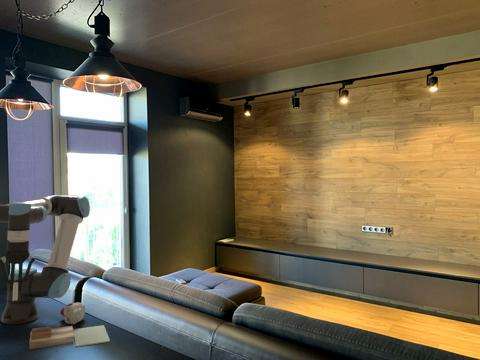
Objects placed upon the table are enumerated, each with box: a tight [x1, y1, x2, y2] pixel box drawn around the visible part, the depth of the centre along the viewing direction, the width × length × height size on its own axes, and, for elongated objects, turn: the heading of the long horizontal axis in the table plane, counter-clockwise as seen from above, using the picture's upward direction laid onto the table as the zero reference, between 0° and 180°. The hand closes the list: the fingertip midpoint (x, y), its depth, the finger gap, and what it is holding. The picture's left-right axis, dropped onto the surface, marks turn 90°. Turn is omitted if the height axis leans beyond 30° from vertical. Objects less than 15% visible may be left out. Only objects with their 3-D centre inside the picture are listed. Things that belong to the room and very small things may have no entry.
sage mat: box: [73, 325, 111, 348], centre depth 156 cm, size 18×13×1 cm
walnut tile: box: [31, 325, 52, 340], centre depth 148 cm, size 7×7×2 cm
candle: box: [60, 301, 86, 325], centre depth 171 cm, size 9×11×15 cm
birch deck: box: [29, 325, 75, 350], centre depth 150 cm, size 12×16×2 cm
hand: (15, 299), depth 144 cm, fingers closed
